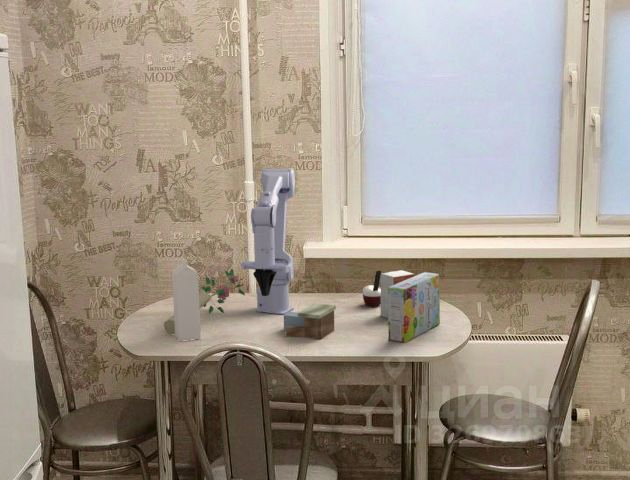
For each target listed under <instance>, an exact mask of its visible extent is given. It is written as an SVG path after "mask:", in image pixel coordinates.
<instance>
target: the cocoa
mask: <svg viewBox="0 0 630 480" xmlns="http://www.w3.org/2000/svg"><path fill="white" fill-rule="evenodd" d="M381 274H382V271H381V270H377V271H375V276H374V282H373V285H372V284H371V285H366V286H364V288H363V287H362V298H363V302H364V304H365V305H366V306H368V307H369V306H371V308H376V307H375V306H377V307H378V306H381V287H379V286H380V283H381Z"/></svg>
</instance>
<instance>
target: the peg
mask: <svg viewBox="0 0 630 480" xmlns="http://www.w3.org/2000/svg"><path fill="white" fill-rule="evenodd" d="M286 326H297V327H305V323H304V317H299V316H298V311H295V312H294V311H288V312H286V313H284V314H283V332H284V333H286Z"/></svg>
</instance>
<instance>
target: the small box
mask: <svg viewBox="0 0 630 480" xmlns="http://www.w3.org/2000/svg"><path fill="white" fill-rule="evenodd" d="M414 276H415V273H412V272H409V271H405V270H402V269H401V270H395V271H389V272H384V273H382V272H381V276H380V289H381V304H380V316H383V317H385V318H388V287H390V286H392V285H395V284H397V283H400V282H402V281H405V280H407V279H409V278H412V277H414Z"/></svg>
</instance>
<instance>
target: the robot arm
mask: <svg viewBox="0 0 630 480" xmlns="http://www.w3.org/2000/svg"><path fill="white" fill-rule="evenodd" d="M295 181H296V177H295V170H294V169H293V168H291V167H290V168H263V169H262V170H261V174H260V185H261V187H262V190H263V192H261V193H260V194H259V198H258V201H257V203H256V206H254V207H253V208H251V211H250V222H251V229H252V231H251V232H252V233H253V245H254V246H253V247H254V248H253V251H254V261H247V260H244V261H241V263H240V267H241V268H240V269H241V270H253V271H254V272H253V273H252V275H253V277H254V278H255V280H256V281H257V284H258V285H257V288H256V302H257V303H256V306H257V307H256V311H255V312H260V313H267V314H268V313H269V314H276V315H285V314H287V313H288V312H291V310H294V309H295V306H290V297H289V296H290V293H289V292H290V291H289V290H290V289H289V287H290V285H289V283H290V282H292V280H293V279H294V259H293V257H292V255H291V254H289V253H288V252H287V251H286V250H285V249H286V247H285V246H286V228H287V208H288V203H289V199H291V198H293V197H294V195H295V194H294V193H295V186H296V182H295Z"/></svg>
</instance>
